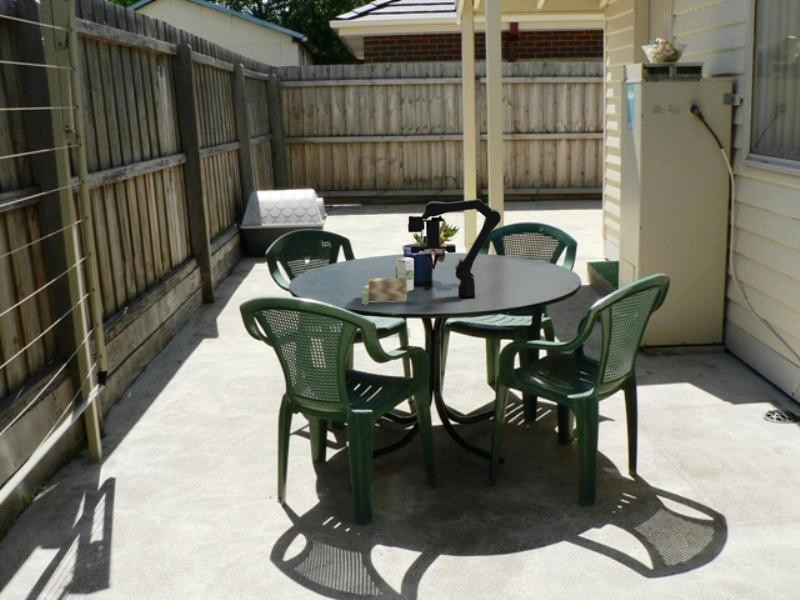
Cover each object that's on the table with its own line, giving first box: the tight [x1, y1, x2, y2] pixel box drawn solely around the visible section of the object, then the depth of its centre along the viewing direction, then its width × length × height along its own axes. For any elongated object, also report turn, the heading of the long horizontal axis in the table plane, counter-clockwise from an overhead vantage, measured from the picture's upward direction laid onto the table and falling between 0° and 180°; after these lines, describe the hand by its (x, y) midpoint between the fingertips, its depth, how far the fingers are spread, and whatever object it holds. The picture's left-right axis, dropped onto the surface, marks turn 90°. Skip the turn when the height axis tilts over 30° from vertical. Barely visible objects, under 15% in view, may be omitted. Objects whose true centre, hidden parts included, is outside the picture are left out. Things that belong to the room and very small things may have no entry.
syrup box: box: [395, 256, 415, 293], centre depth 378 cm, size 6×6×14 cm
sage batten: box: [361, 284, 370, 305], centre depth 362 cm, size 2×16×5 cm, turn 176°
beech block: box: [368, 277, 408, 302], centre depth 361 cm, size 15×6×9 cm, turn 86°
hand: (433, 269), depth 363 cm, fingers closed
